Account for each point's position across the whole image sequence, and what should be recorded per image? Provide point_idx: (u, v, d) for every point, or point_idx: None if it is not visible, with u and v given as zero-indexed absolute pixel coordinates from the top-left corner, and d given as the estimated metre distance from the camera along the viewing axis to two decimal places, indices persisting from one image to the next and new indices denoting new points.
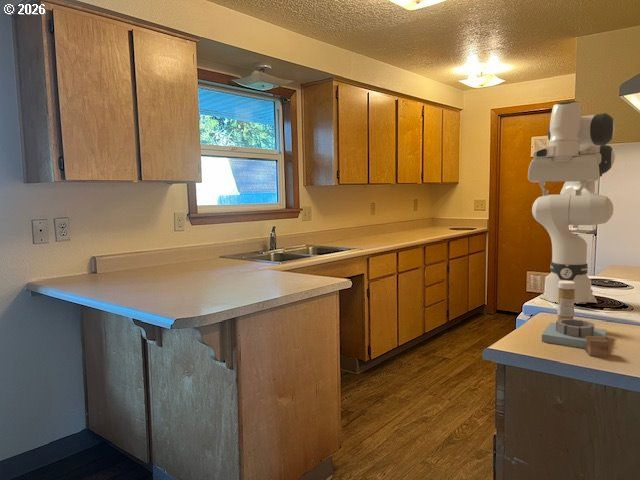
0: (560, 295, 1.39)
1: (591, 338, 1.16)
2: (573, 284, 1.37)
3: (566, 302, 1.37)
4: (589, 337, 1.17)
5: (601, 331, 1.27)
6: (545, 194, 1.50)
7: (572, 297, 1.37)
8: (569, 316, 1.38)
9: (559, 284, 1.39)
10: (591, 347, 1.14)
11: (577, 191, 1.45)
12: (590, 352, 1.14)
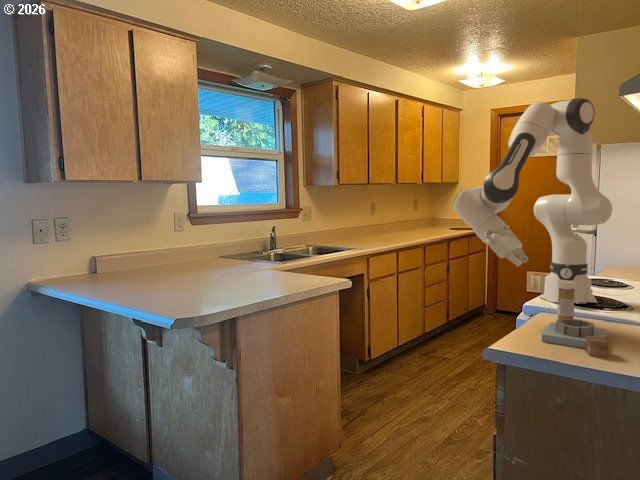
0: (560, 295, 1.39)
1: (591, 338, 1.16)
2: (573, 284, 1.37)
3: (566, 302, 1.37)
4: (589, 337, 1.17)
5: (601, 331, 1.27)
6: None
7: (572, 297, 1.37)
8: (569, 316, 1.38)
9: (559, 284, 1.39)
10: (591, 347, 1.14)
11: None
12: (590, 352, 1.14)
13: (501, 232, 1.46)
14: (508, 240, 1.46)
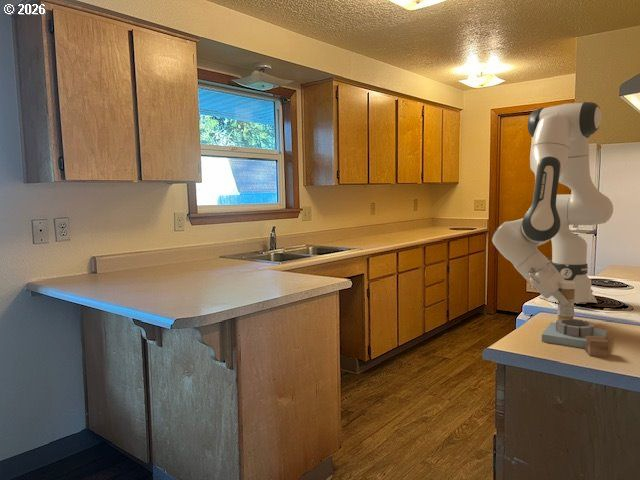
0: None
1: (591, 338, 1.16)
2: (573, 284, 1.37)
3: None
4: (589, 337, 1.17)
5: (601, 331, 1.27)
6: None
7: (572, 297, 1.37)
8: (569, 316, 1.38)
9: (559, 284, 1.39)
10: (591, 347, 1.14)
11: None
12: (590, 352, 1.14)
13: (544, 269, 1.40)
14: (552, 277, 1.40)
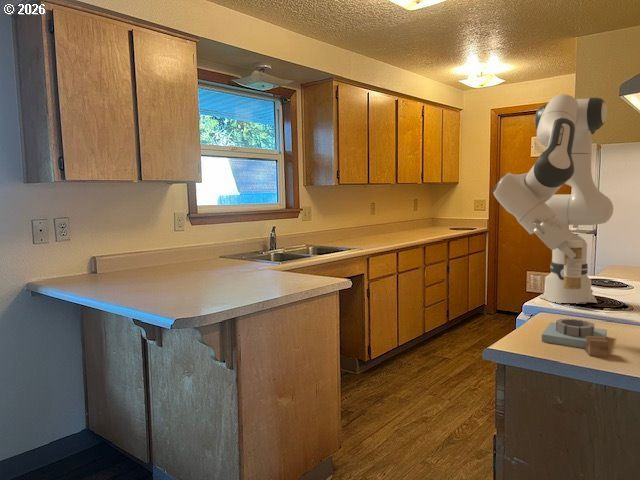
0: (566, 255, 1.28)
1: (591, 338, 1.16)
2: (580, 242, 1.26)
3: (573, 262, 1.27)
4: (589, 337, 1.17)
5: (601, 331, 1.27)
6: None
7: (580, 257, 1.27)
8: (577, 277, 1.27)
9: None
10: (591, 347, 1.14)
11: (568, 255, 1.27)
12: (590, 352, 1.14)
13: (550, 221, 1.29)
14: (558, 230, 1.29)
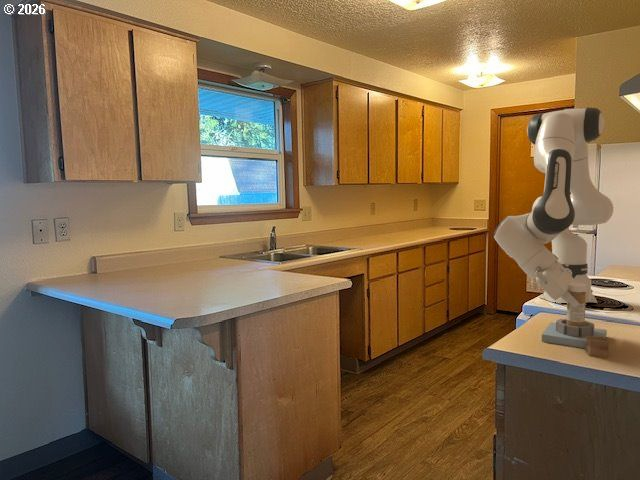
0: None
1: (591, 338, 1.16)
2: (584, 286, 1.24)
3: (577, 306, 1.24)
4: (589, 337, 1.17)
5: (601, 331, 1.27)
6: None
7: (583, 301, 1.24)
8: (580, 322, 1.24)
9: (569, 286, 1.25)
10: (591, 347, 1.14)
11: None
12: (590, 352, 1.14)
13: (552, 268, 1.27)
14: (560, 277, 1.27)
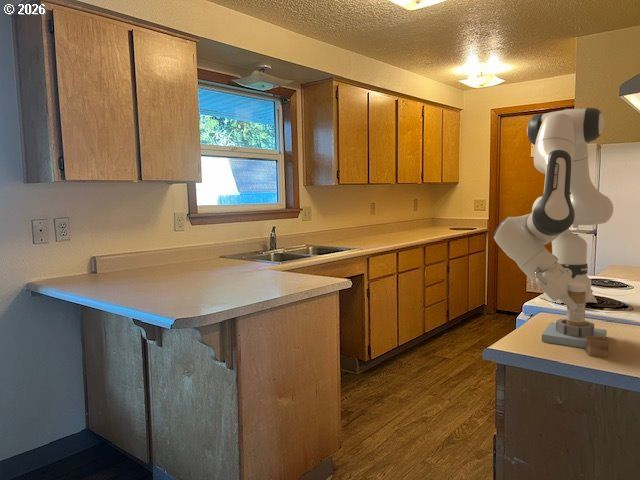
0: None
1: (591, 338, 1.16)
2: (584, 286, 1.24)
3: None
4: (589, 337, 1.17)
5: (601, 331, 1.27)
6: None
7: (583, 301, 1.24)
8: (580, 322, 1.24)
9: (568, 286, 1.26)
10: (591, 347, 1.14)
11: None
12: (590, 352, 1.14)
13: (552, 269, 1.27)
14: (560, 278, 1.27)
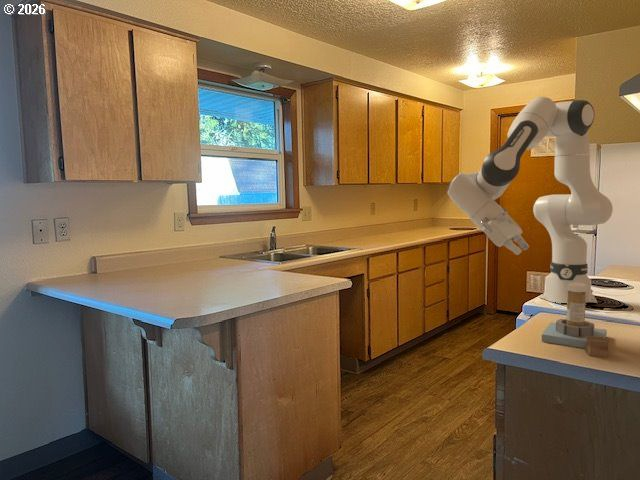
0: (570, 299, 1.25)
1: (591, 338, 1.16)
2: (584, 286, 1.24)
3: (577, 306, 1.24)
4: (589, 337, 1.17)
5: (601, 331, 1.27)
6: None
7: (583, 301, 1.24)
8: (580, 322, 1.24)
9: (568, 286, 1.26)
10: (591, 347, 1.14)
11: None
12: (590, 352, 1.14)
13: (499, 218, 1.37)
14: (506, 227, 1.37)
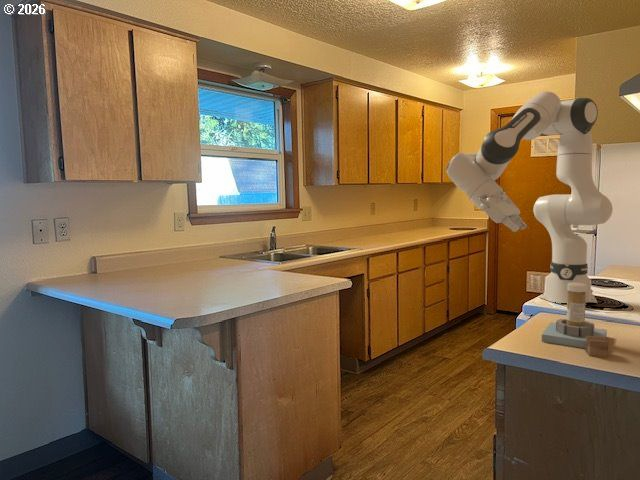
0: (570, 299, 1.25)
1: (591, 338, 1.16)
2: (584, 286, 1.24)
3: (577, 306, 1.24)
4: (589, 337, 1.17)
5: (601, 331, 1.27)
6: None
7: (583, 301, 1.24)
8: (580, 322, 1.24)
9: (569, 286, 1.26)
10: (591, 347, 1.14)
11: None
12: (590, 352, 1.14)
13: (497, 197, 1.37)
14: (504, 205, 1.37)
